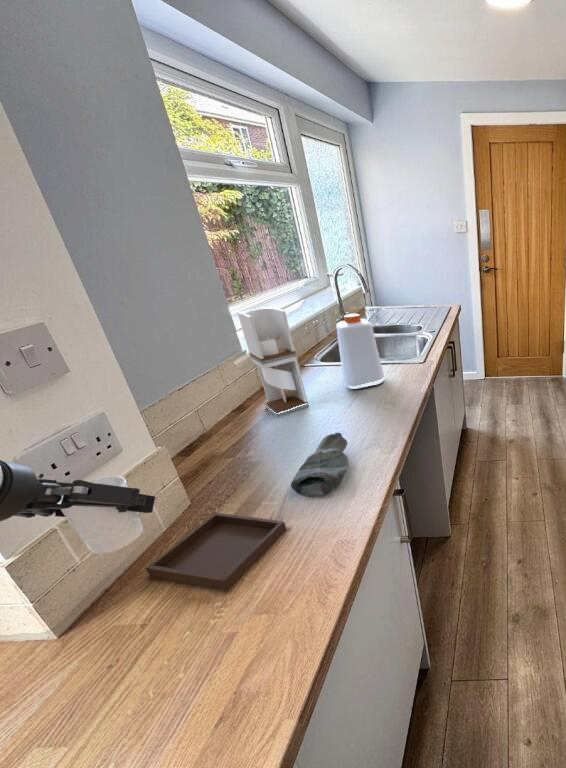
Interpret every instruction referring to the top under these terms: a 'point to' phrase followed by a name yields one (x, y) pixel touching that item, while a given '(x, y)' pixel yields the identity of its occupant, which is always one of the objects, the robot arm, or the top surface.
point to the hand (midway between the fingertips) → (123, 507)
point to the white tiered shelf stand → (274, 358)
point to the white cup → (104, 522)
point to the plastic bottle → (358, 351)
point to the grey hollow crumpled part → (322, 468)
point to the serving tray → (217, 551)
